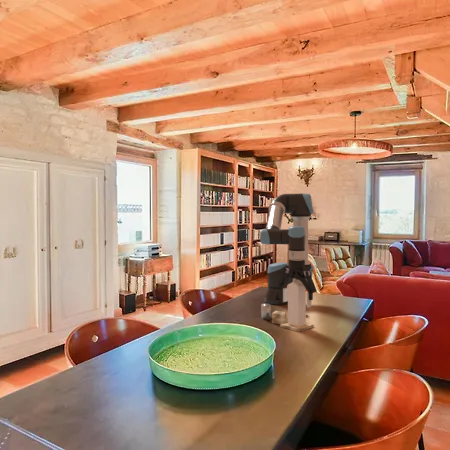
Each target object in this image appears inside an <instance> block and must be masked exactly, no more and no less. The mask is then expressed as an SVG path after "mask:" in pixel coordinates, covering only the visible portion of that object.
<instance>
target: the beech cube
mask: <svg viewBox="0 0 450 450" xmlns="http://www.w3.org/2000/svg"><path fill="white" fill-rule="evenodd" d="M286 318H287V317H286V311H281V310H275V311H273V312H271V323H272V324H276V325H280V324H283V323H286V322H287V321H286Z"/></svg>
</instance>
